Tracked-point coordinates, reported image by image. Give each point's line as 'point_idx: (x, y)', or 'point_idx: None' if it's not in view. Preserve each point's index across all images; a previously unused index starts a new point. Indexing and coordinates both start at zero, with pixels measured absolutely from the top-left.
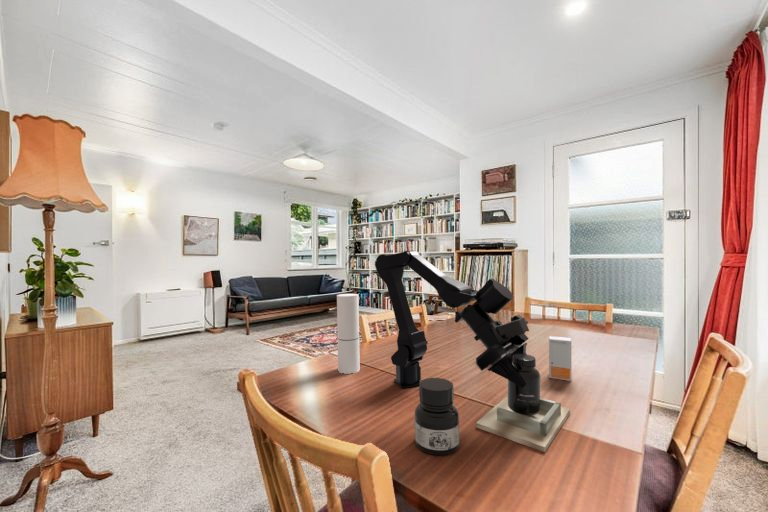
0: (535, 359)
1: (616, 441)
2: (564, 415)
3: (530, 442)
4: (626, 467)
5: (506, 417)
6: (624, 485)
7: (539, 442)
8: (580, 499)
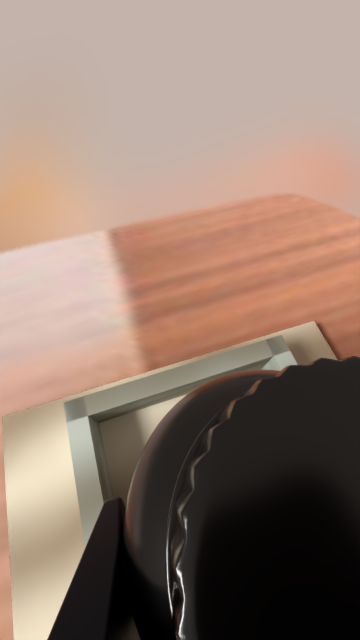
0: (255, 382)
1: (97, 264)
2: (80, 395)
3: (334, 356)
4: (189, 220)
5: None
6: (248, 205)
7: (310, 340)
8: (353, 224)
